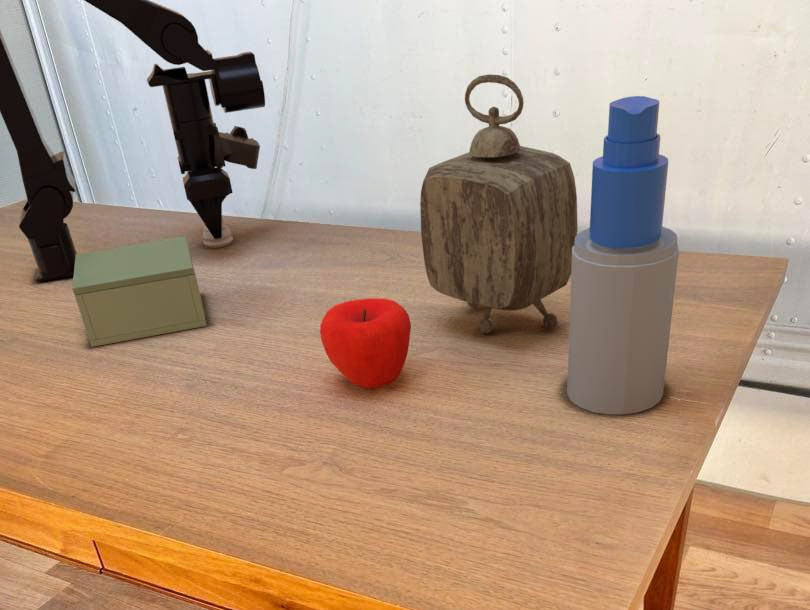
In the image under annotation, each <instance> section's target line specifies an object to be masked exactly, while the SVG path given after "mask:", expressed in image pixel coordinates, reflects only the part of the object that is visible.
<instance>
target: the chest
mask: <svg viewBox="0 0 810 610" xmlns="http://www.w3.org/2000/svg"><path fill="white" fill-rule="evenodd" d="M189 251H190V252H191V249H189ZM190 255H191V256H192V254H191V253H190ZM191 260H192V265H193V270H194V274H192V275H186V276H181V277H175V278H169V279H163V280H158V281H152V282H146V283H140V284H134V285H129V286H123V287H117V288H111V289H106V290H100V291H94V292H88V293H83V294H77V295H74V298H75V302H76V304H77V308H78V310H79V313H80V316H81V319H82V323H83V325H84V328H85V331H86V334H87V337H88V341H89V343H90V347H92V348H93V347H100V346H104V345H110V344H115V343H120V342H126V341H131V340H137V339H142V338H143V339H144V338H148V337H153V336H159V335H164V334H170V333H177V332H181V331H185V330H191V329H197V328H204V327H207V321H206V315H205V311H204V310H205V309H204V306H203V300H202V296H201V291H200V287H199V284H198V283H199V282H198V279H197V275H196V270H195V267H194V263H193V262H194V261H193V258H192V257H191Z"/></svg>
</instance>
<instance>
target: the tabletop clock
mask: <svg viewBox="0 0 810 610" xmlns="http://www.w3.org/2000/svg"><path fill="white" fill-rule="evenodd" d="M487 83H492V84H500V85H503V86H505V87H507V88H509V89H510V90H511V91H512V92H513V93H514V94H515V96H516V98H517V100H518V107H517V110H515V111H514V112H513V113H511V114H508V115H505V116H501V115H500V109H499V108H498V107H496V106H491V107H490V108H489V109H488V114H483V113H482V112H480V111H478V110H476V109H475V108H474V107H473V106H472V104H471V102H470V101H471V100H470V97H471V93H472V92H473V90H474V89H475V88H476V87H477V86H479V85H481V84H487ZM464 103H465V106H466V109H467V110H468V112H469V113H470V115H471V116H472V117H473V118H475V119H476V120H478V121H479V122H482V123H484V124H488V126H487V127H484V128H482V129H481V128H480V129H479V130H478V131H477V132H476V134H475V135H474V136H473V138H472V139H471V143H470V147H469V151H468V152H466V153H463V154H460V155H458V156H455V157H453V158H449V159H447V160H444V161H442V162H439V163H437V164H435V165H433V166H430V167H428V170H427V171H426V174H425V177H424V178H423V180H422V185H421V190H420V198H419V200H420V201H419V207H420V208H419V210H420V235H421V245H422V252H423V253H422V254H423V261H424V262H423V263H424V268H425V272H426V277H427V279H428V282H429V283H428V284H429V285H430V287H431V288H433V290H435V291H436V292H438V293H440V294H442V295H444V296H446V297H450V298H452V299H455V300H460V301H462V302H465V303H467V305H468V307H470V308H471V309H477V308H479V307H483V312H484V313H483V319H481V320H479V322H478V324H477V329H478V331H479V333H481V334H483V335H488V334H489V333H491V332H492V330H493V328H494V325H493V322H492V321H491V320H490V316H491V311H492V309H495V310H502V311H508V312H509V311H510V312H514V311H520V310H523V309H527V308H528V307H530V306H532V305H533V306H534V307H535V308H536V309H537V310H538V312H539V313H540V314H541V315H542V316H543V318H542V325H543V326H544V327H546V328H547V329H553V328H555V327H556V326H557V325H558V322H559V321H558V316H557V315H556V314H555V313H552V312H548V310H547V308H546V307H545V305H544V304H543V302H542V300H543V299H544V298H546V297H548V296H550V295H552V294H553V293H555V292H557V291H558V290H561V289H562V288H564V287H565V286H567V285H568V282H569V280H570V279H571V265H572V247H573V246H574V245H575V237H576V236H577V235H578V229H579V228H578V194H577V185H576V180H575V174H574V171H573V169H572V165H571V163H570V162H569V161H567V160H566V159H565V158H563V157H562V156H560V155H559V154H556V153H553V152H550V151H546V150H542V149H537V148H532V147H528V146H522V145H521V144H520V141H519V138H518V137H517V135H516V133H515V132H514V131H513V130H512V129H511V128H510V127H506V126H503V125H506V124H510V123H511V122H515V121H516V120H517V119H518V118H519V117H520V115H522V112H523V109H524V96H523V94H522V91H521V89H520V87H519V86H518V85H517V84H516V82H514V81H513V80H512V79H510V78H509V77H507V76H503V75H500V74H484V75H479V76H477V77H475V78H474V79H472V80H471V81H470V82H469V84H468V85H467V88H466V91H465V93H464Z"/></svg>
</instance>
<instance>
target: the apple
mask: <svg viewBox="0 0 810 610" xmlns="http://www.w3.org/2000/svg"><path fill="white" fill-rule="evenodd" d="M411 330H412V324H411V319H410V316H409V313H408V312H407V310H406V308H404V307H403V306H402V305H401V304H399V303H398V302H397V301H395V300H392V299H387V298H361V299H353V300H347V301H344V302H340V303H337V304H334V305H333V306H332V307H331V308H329V309H328V310H327V311H326V313H325V315H324V316H323V317H322V319H321V322H320V327H319V335H320V341H321V343H322V346H323V348H324V349H323V350H324V351H325V353H326V356H327V358H328V359H329V361H330V362H331V364H332V365H333V366H334V367H335V368H336V369H337V370H338V371H339V373H341V374H342V376H344V377H345V378H346V379H347V380H348V381H349V382H351V384H354V385H355V386H357V387H360V388H363V389H377V388H382V387H384V386H389V385H391V384H393V383H394V382H395V381H396V380H397V379H398V378H399V377H400V375H401V374H402V370H403V368H404V366H405V364H406V360H407V357H408V352H409V347H410V339H411Z"/></svg>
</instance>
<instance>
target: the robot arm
mask: <svg viewBox="0 0 810 610" xmlns="http://www.w3.org/2000/svg"><path fill="white" fill-rule="evenodd" d="M83 1H85V2H86V3H88V4H89V5H91V6H93V7H94V8H96V9H98V10H99V11H101V12H103V13H104V14H106V15H107V16H109V17H111V18H113V19H114V20H115V21H117V22H119V23H121V25H123V26H124V27H125V28H126V29H127V30H128V31H130V32H131V33H132V34H133V35H135V36H136V37H137V38H138V39H139V40H140V41H141V42H142V43H144V44H145V45H146V46H147V47H148V48H149V49H151V50H152V51H153V52H154V53H156V55H158V56H159V57H160V58H161V59H162V60H164V61H165V62H167V63H169V64H172V65H176V66H180V65H184V64H189V65H191V66H193V67H194V68H196V69H198V70H200V72H192V73H188V72H187V68H186V67H185V66H180V67H173V68H166V69H164V68H162V67H161V66H160V65H159V64H158V63H154V64H153V67H152V70H151V73H150V74H149V76H148V77H147V78H146V83H147V84H148V86H149V88H154V87H155V88H156V87H162V90H163V94H164V98H165V102H166V107H167V112H168V115H169V120H170V124H171V129H172V131H173V132H172V133H173V137H174V142H175V146H176V150H177V154H178V156H177V162H178V166H179V170H180V174H181V175H184V176H183V177H182V183H183V189H184V192H185V197H186V200H187V201H188V202H189V203H190V204H191V206H192V207H193V209H194V210H195V211H196V213H197V214H198V216H199V217H200V219H201V221H202V222H203V224H204V226H205V225H206V227H207V228H208V230H209V231H210V233H211V234H212V236H213V238H214V239H220V238H222V218H223V202H224V200H225V199H226V198H227V197H228V196H229V195H231V194H233V187H232V182H231V179H230V176H229V173H228V172H227V171H226V170H224V169H223V168H224V167H226V162H227V163H229V164H230V163H231V164H236V165H239V166H244V167H246V168H247V169H251V170H257V168H258V163H259V162H258V161H259V156H260V150H261V145H260V143H259V141H258V140H257V139H254V138H253V137H250V138H249V136H248V135H249V134H248V133H247V130H246V128H244V127H241V126H237V125H234V127H233V128H232V129H231V131H230V132H227V131H226V132H222V131H219V128H218V126H217V123H216V122H214V117H213V112H212V108H211V103H210V98H209V93H208V88H207V83H206V80H208V81H209V87H210V93H211V96H212V97H211V98H212V100H213V103H214V106H215V107H219V106H220V108H222V110H223V112H224V113H225V114H228V113H234V112H241V111H246V110H255V109H260V108H261V109H262V108H265V107H266V95H265V94H266V93H265V87H264V82H263V80H262V79H261V76H260V72H259V68H258V64H257V63H256V57H255V56H256V55H255V54H254V53H253V52H252V51H246V52H241V53H239V54H236V55H229V56H222V57H215V58H214V57H213V53H212V52H211V51H209V49H206V50H205V48H204V47H203V46H202V45H201V44H200V43H199V36H198V33H197V30H196V27H195V26H194V24H193V23H192V22H191V21H190V20H189V19H188V18H187V17H186V16H185V15H184V14H182V13H181V12H178V11H177V10H173V9H171V8H169V7H166V6H164V5H162V4H159V3H158V2H155V1H151V0H83ZM0 115H1V118H2V120H3V122H4V125H5V126H6V129H7V131H8V134H9V136H10V139H11V140H12V143H13V145H14V148H15V150H16V155H17V160H18V164H19V169H20V175H21V180H22V183H23V187H24V191H25V196H26V202H25V203H24V205H23V207H22V209H21V214H20V218H19V223H18V228H19V229H20V231H21V232H22V233H23V234H24V236H25V237H26V238H27V239H28V240H27V241H28V243H29V246H30V249H31V252H32V255H33V257H34V261H35V263H36V267H37V270H36V274H35V282H37V283H41V282H46V281H51V280H58V279H64V278H70V277H74V267H75V257H76V254H78V253H77V250H76V247H75V244H74V240H73V238H72V235H71V232H70V228H69V226H68V224H67V223H66V222H65V221H64V220H65V219H66V218H67V217H68V216H69V215H70V214H71V212H72V210H73V207H74V193H76V178H75V177H74V176H73V175H72V173H71V172H70V170H69V167H68V164H67V159H66V154H65V152H64V150H63V151H60V152H58V153H54V152H53V150H52V149H51V147H50V146H49V144H48V143H47V141H46V140H45V138H44V136H43V133H42V131H41V127H40V125H39V123H38V120H37V117H36V115H35V113H34V110H33V108H32V106H31V103H30V100H29V98H28V96H27V92H26V91H25V88H24V85H23V83H22V81H21V77H20V76H19V73H18V71H17V68H16V66H15V64H14V61H13V58H12V55H11V54H10V51H9V48H8V45H7V43H6V41H5V38H4V36H3V33H2V31H1V30H0Z"/></svg>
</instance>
